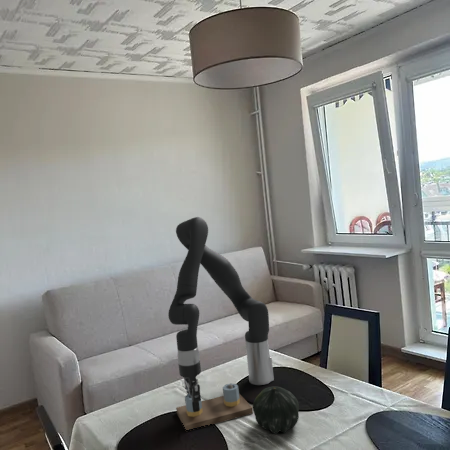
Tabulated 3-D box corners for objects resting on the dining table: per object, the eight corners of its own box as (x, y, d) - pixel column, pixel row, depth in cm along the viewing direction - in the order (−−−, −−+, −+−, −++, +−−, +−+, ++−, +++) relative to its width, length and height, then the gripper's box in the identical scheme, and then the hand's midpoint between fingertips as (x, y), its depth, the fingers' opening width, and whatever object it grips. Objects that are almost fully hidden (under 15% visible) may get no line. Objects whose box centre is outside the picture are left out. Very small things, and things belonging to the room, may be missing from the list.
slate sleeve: (199, 407, 159) (197, 391, 159) (203, 414, 154) (202, 397, 154) (185, 411, 157) (183, 394, 157) (189, 417, 152) (187, 401, 152)
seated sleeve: (236, 398, 163) (234, 382, 163) (241, 404, 159) (239, 387, 158) (222, 401, 162) (221, 385, 161) (227, 407, 157) (225, 391, 156)
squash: (273, 393, 157) (255, 373, 148) (312, 404, 148) (294, 383, 139) (258, 432, 150) (238, 414, 141) (297, 447, 141) (278, 428, 132)
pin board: (238, 397, 169) (236, 374, 168) (252, 413, 155) (250, 388, 155) (176, 412, 161) (174, 389, 160) (186, 431, 148) (183, 405, 147)
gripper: (205, 365, 149) (210, 413, 150) (194, 351, 162) (198, 396, 164) (183, 370, 146) (188, 419, 148) (173, 356, 160) (178, 401, 161)
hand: (194, 407), depth 156 cm, fingers open, 6 cm apart
